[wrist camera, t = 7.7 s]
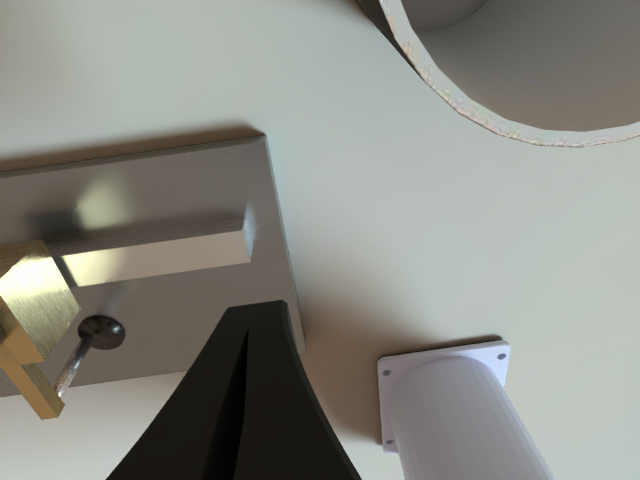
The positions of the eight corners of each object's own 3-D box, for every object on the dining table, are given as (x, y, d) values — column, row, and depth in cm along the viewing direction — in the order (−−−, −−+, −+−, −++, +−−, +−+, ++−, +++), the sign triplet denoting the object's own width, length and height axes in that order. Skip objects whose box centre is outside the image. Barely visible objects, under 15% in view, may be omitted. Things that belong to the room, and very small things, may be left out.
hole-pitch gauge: (305, 340, 23) (311, 437, 18) (-74, 394, 23) (-180, 508, 18) (265, 134, 17) (256, 190, 12) (-253, 207, 17) (-495, 297, 11)
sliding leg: (116, 344, 20) (71, 431, 16) (64, 351, 20) (7, 441, 16) (54, 227, 17) (-23, 300, 12) (-8, 236, 17) (-106, 312, 12)
